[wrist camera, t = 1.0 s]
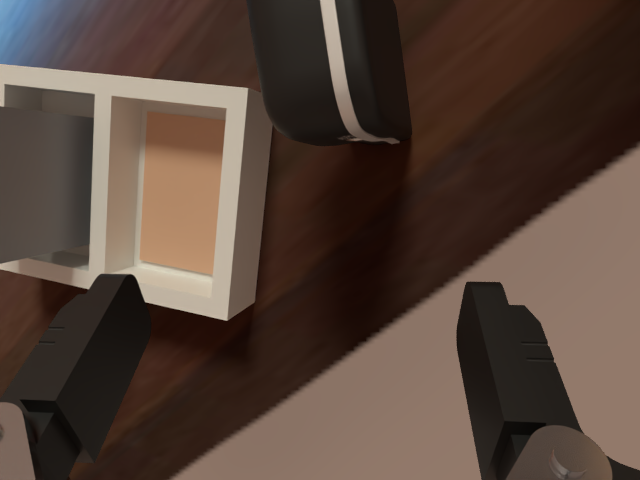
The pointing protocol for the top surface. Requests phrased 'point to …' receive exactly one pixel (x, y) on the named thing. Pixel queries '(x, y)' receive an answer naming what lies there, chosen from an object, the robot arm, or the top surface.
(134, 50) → the top surface
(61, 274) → the dock
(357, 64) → the battery charger
